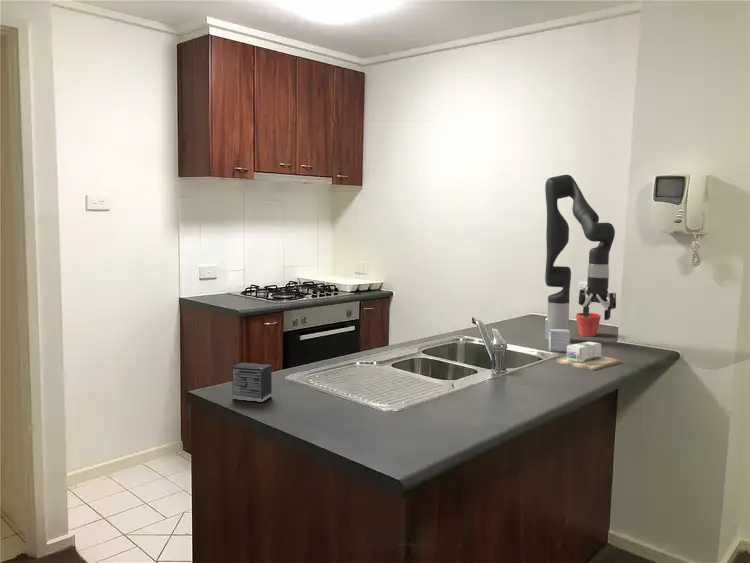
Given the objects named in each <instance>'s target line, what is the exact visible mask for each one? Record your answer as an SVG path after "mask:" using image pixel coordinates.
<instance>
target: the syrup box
mask: <svg viewBox="0 0 750 563" xmlns="http://www.w3.org/2000/svg"><path fill="white" fill-rule="evenodd" d="M601 356H602V343H601V342H594V341H585V342H579V343H573V344H570V345H568V346H567V352H566V357H567V360H570V361H575V362H584V361H589V360H593V359H598V358H601Z"/></svg>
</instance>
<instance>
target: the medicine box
mask: <svg viewBox="0 0 750 563" xmlns="http://www.w3.org/2000/svg"><path fill="white" fill-rule="evenodd" d="M568 345H571V331H570V330H569V329H568V330H565V329H550V330H549V341H548V351H549V352H558V353H559V352H561V353H564V352H566V353H567V346H568Z"/></svg>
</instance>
